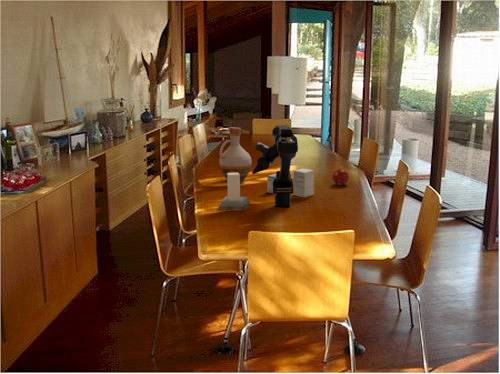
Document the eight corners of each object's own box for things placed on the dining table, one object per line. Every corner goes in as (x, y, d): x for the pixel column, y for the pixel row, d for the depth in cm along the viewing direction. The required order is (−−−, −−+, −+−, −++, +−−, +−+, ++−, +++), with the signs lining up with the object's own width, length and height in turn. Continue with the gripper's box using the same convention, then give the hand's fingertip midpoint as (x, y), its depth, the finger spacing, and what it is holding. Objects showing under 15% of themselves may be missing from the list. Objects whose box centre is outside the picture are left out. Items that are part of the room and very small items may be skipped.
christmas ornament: (330, 185, 284) (330, 167, 282) (335, 182, 292) (335, 164, 290) (345, 187, 281) (346, 168, 278) (350, 183, 288) (351, 165, 286)
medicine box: (276, 189, 278) (276, 173, 276) (283, 190, 275) (283, 174, 273) (267, 192, 272) (267, 175, 270) (274, 193, 269) (274, 176, 267)
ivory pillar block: (238, 197, 248) (238, 172, 245) (240, 200, 243) (239, 174, 240) (227, 198, 247) (227, 172, 244) (229, 201, 242) (228, 175, 240)
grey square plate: (249, 205, 251) (249, 200, 250) (244, 213, 239) (244, 207, 239) (224, 204, 253) (224, 199, 253) (218, 211, 242) (218, 206, 241)
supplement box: (302, 192, 271) (302, 168, 268) (314, 195, 266) (314, 170, 263) (293, 195, 266) (293, 170, 263) (304, 197, 261) (304, 172, 258)
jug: (231, 186, 284) (229, 130, 277) (210, 181, 297) (209, 127, 290) (258, 181, 297) (257, 127, 290) (237, 176, 310) (236, 124, 303)
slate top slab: (247, 201, 250) (246, 196, 249) (243, 206, 240) (243, 202, 240) (226, 200, 251) (225, 196, 251) (221, 206, 242) (221, 201, 241)
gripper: (268, 134, 260) (246, 155, 265) (261, 139, 243) (238, 163, 247) (284, 150, 261) (262, 171, 266) (279, 157, 243) (255, 180, 248)
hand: (254, 171), depth 257 cm, fingers open, 9 cm apart
